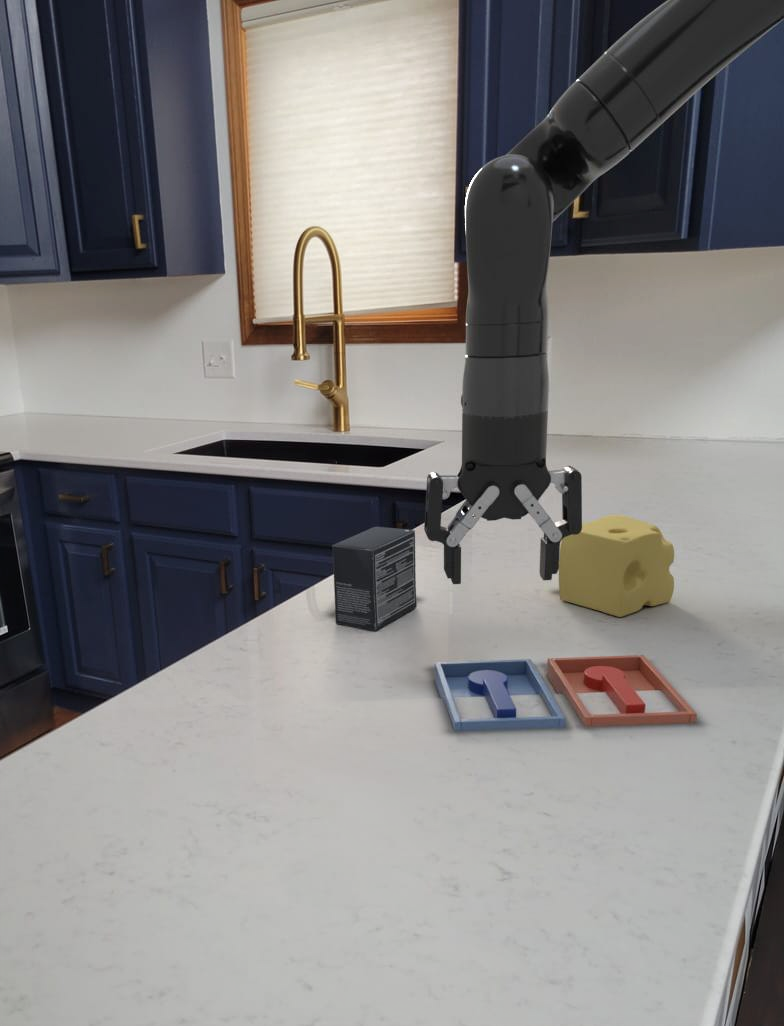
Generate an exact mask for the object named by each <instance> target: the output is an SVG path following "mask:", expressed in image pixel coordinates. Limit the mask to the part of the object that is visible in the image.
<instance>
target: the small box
mask: <svg viewBox="0 0 784 1026" xmlns="http://www.w3.org/2000/svg"><path fill="white" fill-rule="evenodd" d="M331 546H332V567H333V569H332V570H333V587H334V615H335V624H337V625H342V626H346V627H353V628H357V629H363V630H368V631H374V632H377V631H379V630H380V629H383V628H384V627H385V626H387V625H389V624H390V623H392V622H394V621H396V620H397V619H399V618H401V617H403V616H404V615H406V614H407V613H409V612H411V611H412V610H414V609H415V608H417V606H418V605H417V604H418V603H417V585H416V584H417V580H416V575H417V574H416V530H415V529H406V528H396V527H395V528H394V527H385V526H374V527H371V528H368V529H366V530H364V531H362V532H360V533H357V534H355V535H352V536H350V537H347V538H346V539H344V540H341V541H339V542H337V543H334V544H332V545H331ZM378 629H379V630H378ZM376 630H377V631H376Z"/></svg>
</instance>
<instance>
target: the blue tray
mask: <svg viewBox="0 0 784 1026" xmlns="http://www.w3.org/2000/svg"><path fill="white" fill-rule="evenodd" d="M480 670H493V671H498V672H501V673H504V674H505V675H506V676H507V677H508V688H507V691H508V693H509V695H510V697H512V696H538V695H540V697H541V698H542V701H543V702H544V704H545V706H546V708H547V710H548V712H549V713H550V714H551V715H550V716H549V715H547V716H545V715H544V716H518V717H517V716H516V718H494V717H491V718H463V719H461V718H460V714H459V712H458V710H457V706H456V703H455V700H454V699H455V698H456V699H457V698H480V697H481V698H483V695H480V694H476V693H473V692H472V691H470V690H469V688H468V677H469V675H470V674H471V673H473V672H475V671H480ZM434 681H435V685H436V688H437V691H438V694H439V697H440V699H444V700H443V701H444V703H445V706H446V709H447V712H448V715H449V719H450V721H451V724H452V727H453V730H454V732H465V731H491V730H493V731H494V730H496V731H497V730H521V729H548V728H549V729H553V728H566V720H567V719H566V717H565V715H564V713H563V711H562V709H561V708H560V706H559V705H558V703H557V701H556V700H555V698H554V697H553V694H552V693H551V691H550V690H549V688H548V686H547V685H546V682H545V681H544V680H543V678H542V676H541V674H540V672H539V670H538V669H537V668H536V666H535V664H534V663H533V661H532V659H531V658H525V659H524V658H523V659H522V658H521V659H520V658H519V659H518V658H517V659H495V660H491V659H490V660H468V661H467V660H464V661H439V662H438V661H437V662H436V661H435V662H434Z"/></svg>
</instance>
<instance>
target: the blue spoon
mask: <svg viewBox="0 0 784 1026" xmlns="http://www.w3.org/2000/svg"><path fill="white" fill-rule="evenodd" d="M468 688H469V690H470V691H472V692H473V693H476V694H480V695H483V697H485V700H486V702H487V704H488V707H489V709H490V711H491V713H492V716H493V718H516V717H517V708H516V705H515V704H514V702H513V699H512V696H510V695H509V693H508V691H507V688H508V677H507V676H506V675H505V674H504V673H501V672H498V671H493V670H480V671H475V672H473V673H471V674H470V675H469V677H468ZM483 697H482V698H483Z"/></svg>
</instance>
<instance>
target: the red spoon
mask: <svg viewBox="0 0 784 1026" xmlns="http://www.w3.org/2000/svg"><path fill="white" fill-rule="evenodd" d="M584 684H585V685H586V686H587V687H589V688H592V689H595V690H600V691H601V692H600V693H606V695H607V697H608V698H609V699H610V700H611V701H612V703H613V705H614V706H615V707H616V708H617V710H618V711H619V713H620V714H629V713H646V711H645V710H646V703H645V702H644V700H643V699H642V698H641V697H640V695H638V693H637V691H634V690H633V688H632V687H631V686H630V685H629V684H628V682H627V681H626V680H625V673H624V672H623V671H622V670H620V669H617V668H614V667H609V666H593V667H589V668H587V669H586V670H585V671H584Z"/></svg>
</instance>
